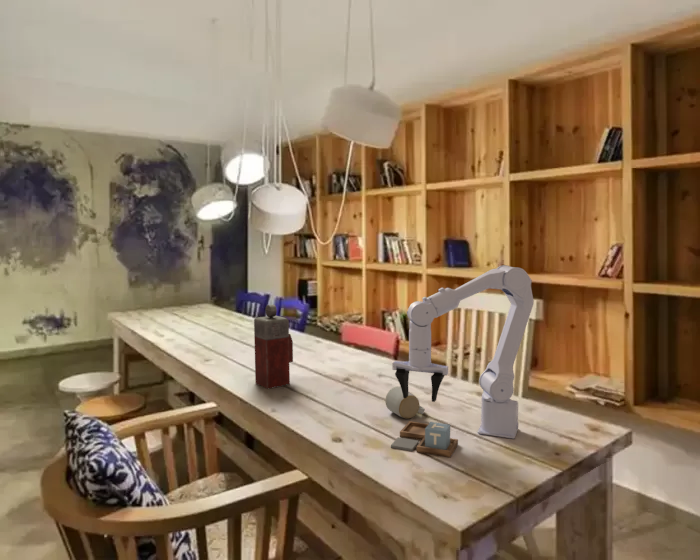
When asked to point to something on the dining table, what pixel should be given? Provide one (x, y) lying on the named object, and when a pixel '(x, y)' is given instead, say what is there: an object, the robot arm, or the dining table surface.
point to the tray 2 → (438, 452)
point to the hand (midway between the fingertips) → (419, 398)
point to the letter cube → (437, 435)
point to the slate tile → (404, 444)
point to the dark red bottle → (272, 349)
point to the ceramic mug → (403, 403)
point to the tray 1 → (414, 430)
